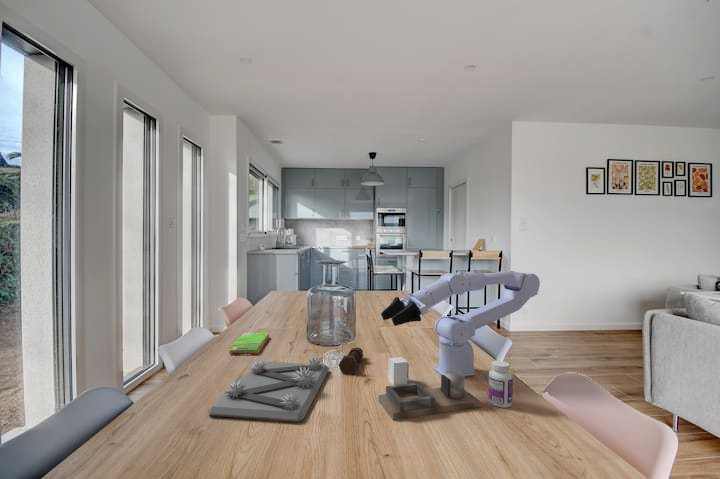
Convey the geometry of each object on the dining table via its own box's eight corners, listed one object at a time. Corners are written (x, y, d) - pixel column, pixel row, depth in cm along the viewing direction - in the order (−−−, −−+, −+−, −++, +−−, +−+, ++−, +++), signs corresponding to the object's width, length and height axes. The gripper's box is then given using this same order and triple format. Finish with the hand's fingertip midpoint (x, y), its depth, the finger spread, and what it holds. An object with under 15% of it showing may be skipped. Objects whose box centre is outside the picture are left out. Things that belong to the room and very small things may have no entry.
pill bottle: (503, 397, 87) (503, 358, 87) (517, 407, 82) (517, 366, 82) (483, 399, 86) (484, 360, 86) (496, 409, 81) (497, 367, 81)
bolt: (360, 363, 115) (350, 379, 100) (347, 354, 116) (335, 369, 101) (369, 348, 114) (360, 362, 100) (356, 339, 115) (345, 352, 101)
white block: (403, 378, 98) (403, 356, 98) (409, 383, 95) (409, 361, 95) (388, 379, 97) (388, 358, 97) (393, 385, 93) (393, 363, 93)
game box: (269, 340, 136) (256, 355, 116) (243, 340, 135) (226, 356, 115) (269, 332, 136) (257, 346, 116) (243, 332, 136) (226, 346, 115)
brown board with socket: (458, 391, 90) (458, 365, 90) (480, 407, 82) (480, 379, 82) (378, 401, 84) (378, 374, 84) (392, 420, 75) (393, 390, 75)
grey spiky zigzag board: (259, 368, 105) (259, 344, 105) (329, 372, 103) (330, 348, 103) (205, 419, 76) (205, 386, 76) (302, 426, 73) (302, 392, 73)
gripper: (411, 282, 107) (372, 302, 103) (435, 287, 93) (392, 310, 89) (419, 303, 107) (382, 323, 103) (445, 311, 94) (402, 335, 90)
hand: (387, 319), depth 96 cm, fingers open, 7 cm apart
